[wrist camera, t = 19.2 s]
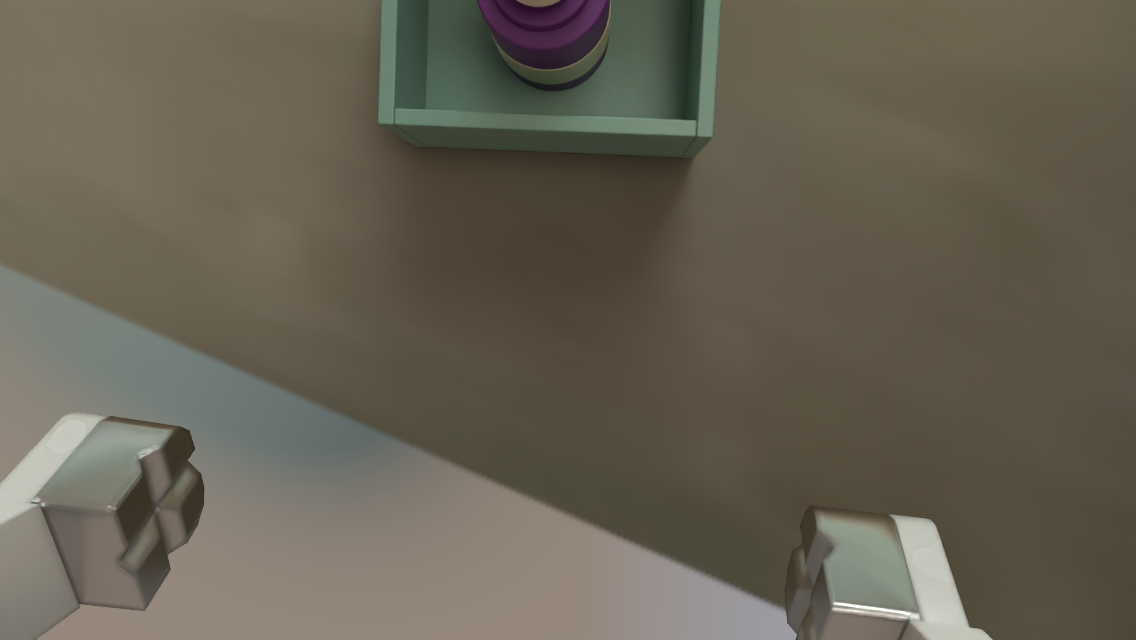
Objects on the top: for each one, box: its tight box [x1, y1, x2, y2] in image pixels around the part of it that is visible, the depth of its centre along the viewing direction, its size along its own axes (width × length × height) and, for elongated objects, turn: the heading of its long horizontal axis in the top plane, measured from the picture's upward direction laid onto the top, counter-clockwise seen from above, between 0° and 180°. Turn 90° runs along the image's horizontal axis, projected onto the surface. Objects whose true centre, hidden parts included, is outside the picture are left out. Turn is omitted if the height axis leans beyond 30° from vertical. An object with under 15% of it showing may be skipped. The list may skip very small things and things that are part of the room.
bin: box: [378, 0, 721, 158], centre depth 28 cm, size 10×8×5 cm
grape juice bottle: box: [477, 0, 611, 91], centre depth 26 cm, size 4×4×8 cm
